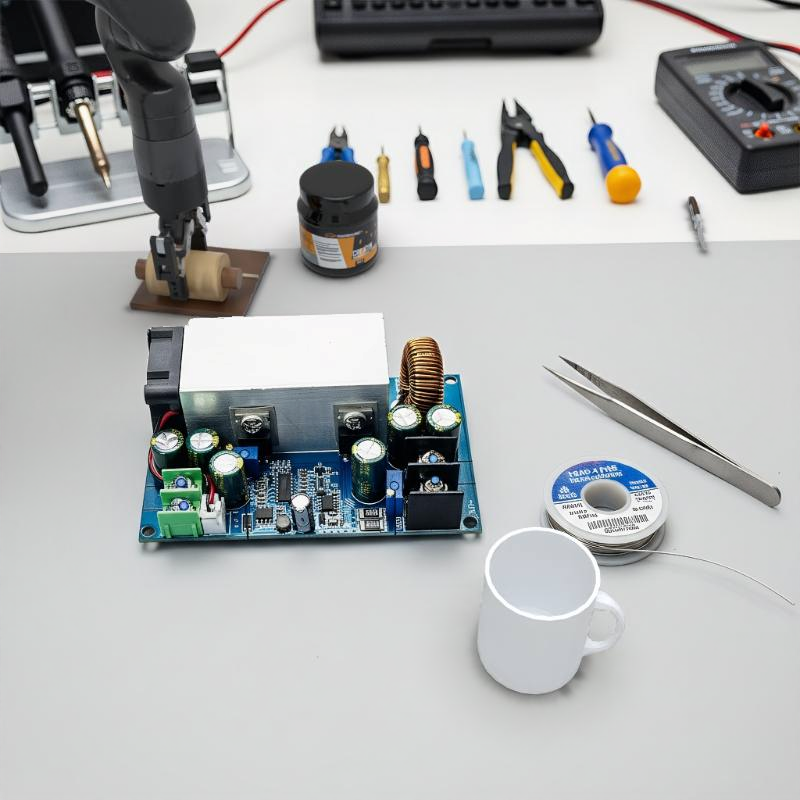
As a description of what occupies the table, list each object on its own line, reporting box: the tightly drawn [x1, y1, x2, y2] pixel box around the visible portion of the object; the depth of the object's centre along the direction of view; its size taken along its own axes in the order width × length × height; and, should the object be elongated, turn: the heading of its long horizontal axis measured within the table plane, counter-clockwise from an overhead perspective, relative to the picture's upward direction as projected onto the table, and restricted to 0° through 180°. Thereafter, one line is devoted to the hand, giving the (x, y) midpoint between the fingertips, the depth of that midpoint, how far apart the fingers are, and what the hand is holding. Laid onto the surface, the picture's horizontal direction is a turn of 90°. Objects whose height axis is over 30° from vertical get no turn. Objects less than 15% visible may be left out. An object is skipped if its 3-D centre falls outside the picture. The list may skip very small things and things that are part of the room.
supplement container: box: [296, 160, 380, 278], centre depth 129 cm, size 10×10×12 cm
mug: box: [476, 526, 626, 695], centre depth 85 cm, size 10×12×12 cm
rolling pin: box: [134, 248, 242, 301], centre depth 123 cm, size 13×6×6 cm, turn 81°
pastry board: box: [129, 245, 271, 318], centre depth 129 cm, size 15×14×1 cm
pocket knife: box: [687, 195, 707, 251], centre depth 139 cm, size 14×1×2 cm, turn 176°
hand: (190, 279), depth 124 cm, fingers open, 7 cm apart
